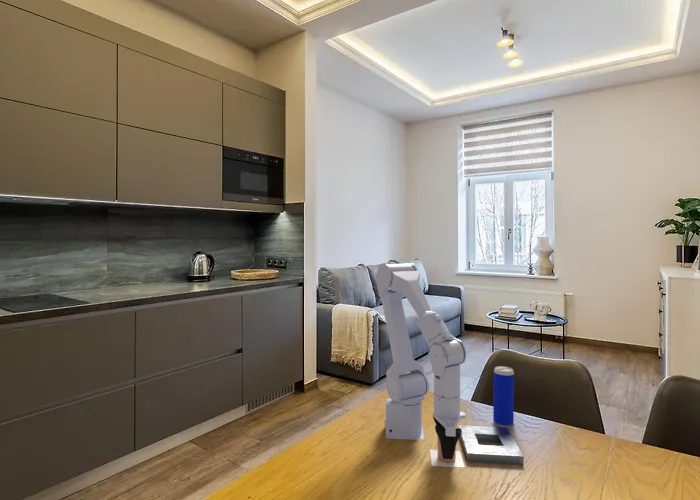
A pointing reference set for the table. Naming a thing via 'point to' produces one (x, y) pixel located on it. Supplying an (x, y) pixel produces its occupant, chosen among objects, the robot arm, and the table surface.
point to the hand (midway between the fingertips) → (446, 452)
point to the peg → (442, 456)
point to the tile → (437, 462)
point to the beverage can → (503, 396)
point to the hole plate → (489, 453)
